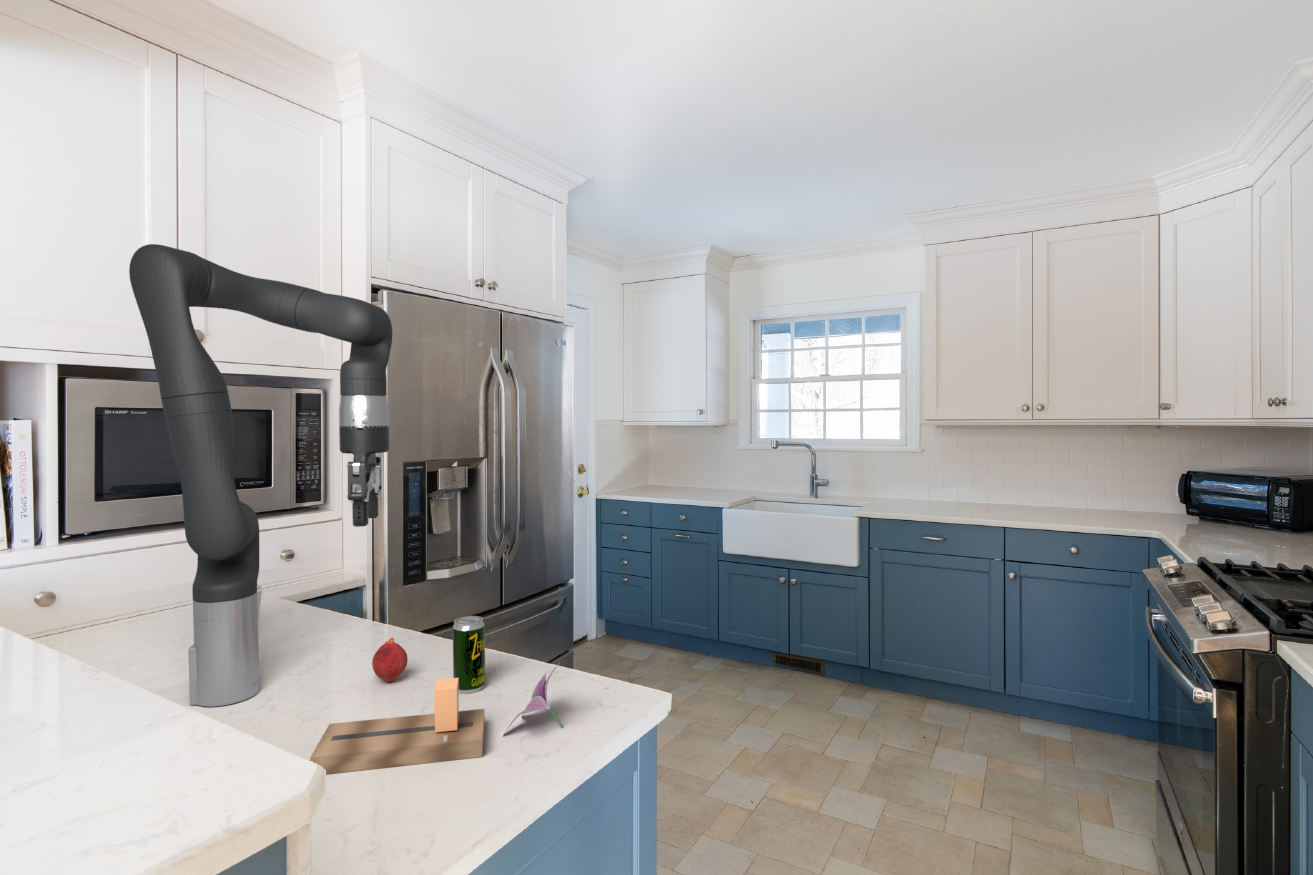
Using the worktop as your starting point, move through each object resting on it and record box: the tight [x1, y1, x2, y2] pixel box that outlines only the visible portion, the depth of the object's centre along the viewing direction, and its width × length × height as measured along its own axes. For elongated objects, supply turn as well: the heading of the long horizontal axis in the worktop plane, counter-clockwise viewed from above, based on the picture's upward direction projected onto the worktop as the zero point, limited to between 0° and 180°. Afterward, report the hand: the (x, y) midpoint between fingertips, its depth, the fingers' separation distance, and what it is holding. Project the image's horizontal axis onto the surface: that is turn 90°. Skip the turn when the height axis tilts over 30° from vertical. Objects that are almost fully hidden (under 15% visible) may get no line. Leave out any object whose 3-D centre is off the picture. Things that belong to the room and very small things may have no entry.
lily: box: [503, 661, 564, 735], centre depth 102 cm, size 12×12×10 cm
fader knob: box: [434, 677, 460, 732], centre depth 97 cm, size 3×4×6 cm
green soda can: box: [452, 615, 486, 695], centre depth 117 cm, size 5×5×12 cm
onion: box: [371, 636, 408, 683], centre depth 120 cm, size 6×6×8 cm
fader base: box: [309, 708, 486, 775], centre depth 96 cm, size 22×10×3 cm, turn 103°
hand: (366, 521), depth 111 cm, fingers open, 8 cm apart
